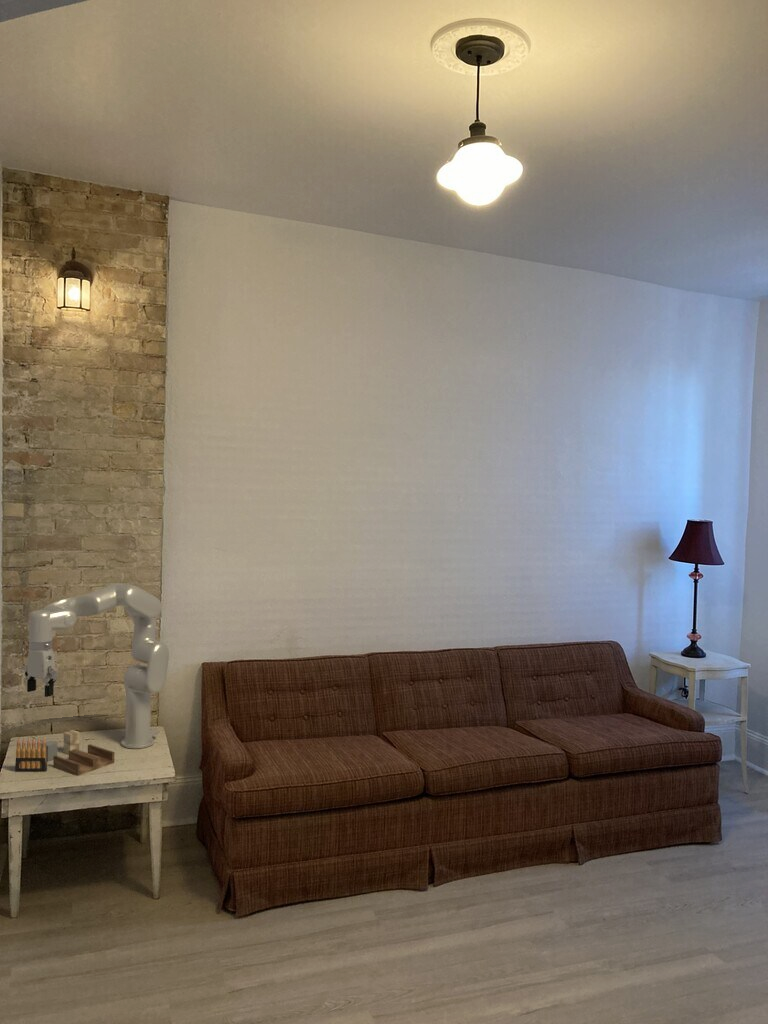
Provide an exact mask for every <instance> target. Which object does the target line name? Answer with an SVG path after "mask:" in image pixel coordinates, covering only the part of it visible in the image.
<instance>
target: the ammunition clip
mask: <svg viewBox="0 0 768 1024" xmlns="http://www.w3.org/2000/svg"><path fill="white" fill-rule="evenodd" d="M46 742H47V741H46V739H45V738H43V740H42V743H41V739H40V738H38V740H37V742H36V739H35V738H32V743H31V739H30V738H29V737H28V739H27V742H26V740H25V738H23V739H22V741H21V740H20V738H17V741H16V752H15V765H14V772H15V773H29V772H30V773H36V772H37V773H41V772H42V773H44V772H47V771H48V762H47V756H46ZM41 744H42V756H41Z"/></svg>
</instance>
